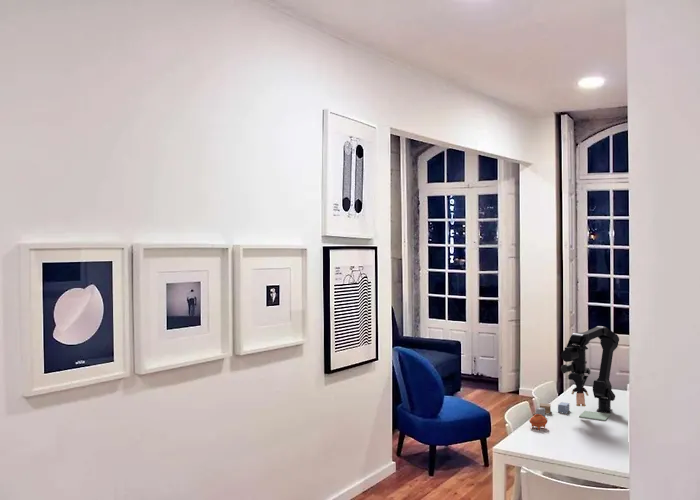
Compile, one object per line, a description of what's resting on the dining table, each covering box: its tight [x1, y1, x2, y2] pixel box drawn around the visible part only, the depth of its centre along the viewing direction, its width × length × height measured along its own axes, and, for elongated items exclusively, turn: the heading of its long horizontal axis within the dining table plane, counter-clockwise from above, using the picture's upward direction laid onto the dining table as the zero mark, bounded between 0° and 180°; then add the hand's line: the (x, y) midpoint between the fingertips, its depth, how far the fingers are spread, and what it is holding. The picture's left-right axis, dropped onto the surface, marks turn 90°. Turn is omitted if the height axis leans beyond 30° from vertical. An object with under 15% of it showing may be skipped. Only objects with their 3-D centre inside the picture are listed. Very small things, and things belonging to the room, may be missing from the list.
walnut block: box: [539, 403, 552, 414], centre depth 310 cm, size 5×5×4 cm
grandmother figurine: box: [571, 387, 589, 407], centre depth 301 cm, size 8×4×13 cm, turn 84°
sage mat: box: [578, 410, 611, 422], centre depth 303 cm, size 12×12×1 cm
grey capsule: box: [535, 407, 546, 418], centre depth 302 cm, size 4×4×4 cm
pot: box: [529, 413, 548, 431], centre depth 283 cm, size 8×8×7 cm
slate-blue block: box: [557, 401, 570, 414], centre depth 312 cm, size 6×4×4 cm, turn 147°
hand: (579, 391), depth 301 cm, fingers closed on grandmother figurine, 3 cm apart
